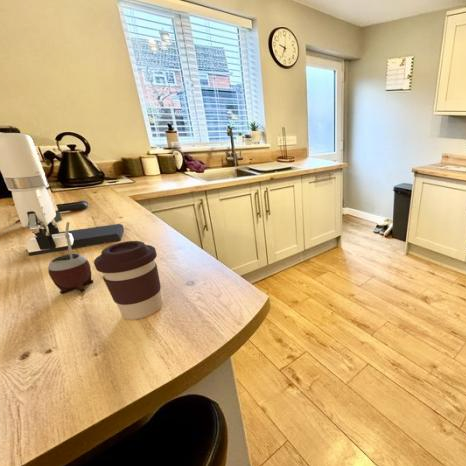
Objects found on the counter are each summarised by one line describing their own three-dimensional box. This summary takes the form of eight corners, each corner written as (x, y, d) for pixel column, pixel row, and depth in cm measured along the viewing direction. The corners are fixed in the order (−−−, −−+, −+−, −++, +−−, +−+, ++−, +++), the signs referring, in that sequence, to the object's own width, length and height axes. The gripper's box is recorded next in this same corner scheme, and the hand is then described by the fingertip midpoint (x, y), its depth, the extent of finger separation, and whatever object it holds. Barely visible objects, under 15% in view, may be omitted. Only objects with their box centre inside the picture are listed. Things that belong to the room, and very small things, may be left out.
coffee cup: (144, 328, 57) (122, 260, 51) (102, 321, 59) (76, 256, 53) (180, 299, 66) (164, 239, 60) (142, 294, 68) (124, 235, 62)
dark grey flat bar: (28, 255, 85) (25, 248, 84) (41, 241, 95) (38, 234, 94) (120, 240, 96) (118, 233, 95) (124, 229, 106) (122, 223, 105)
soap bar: (31, 246, 82) (27, 237, 81) (73, 239, 87) (70, 231, 86) (28, 252, 79) (24, 243, 78) (72, 244, 84) (69, 236, 83)
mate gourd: (65, 299, 66) (39, 238, 60) (51, 289, 69) (25, 231, 63) (103, 283, 72) (83, 227, 66) (89, 275, 75) (68, 221, 69)
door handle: (27, 204, 124) (18, 211, 112) (88, 197, 136) (85, 203, 124) (30, 212, 126) (21, 219, 114) (90, 204, 137) (88, 210, 125)
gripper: (19, 177, 81) (43, 236, 88) (-8, 191, 68) (22, 259, 74) (55, 175, 85) (75, 232, 92) (36, 188, 71) (61, 253, 78)
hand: (51, 244), depth 83 cm, fingers closed on soap bar, 5 cm apart
